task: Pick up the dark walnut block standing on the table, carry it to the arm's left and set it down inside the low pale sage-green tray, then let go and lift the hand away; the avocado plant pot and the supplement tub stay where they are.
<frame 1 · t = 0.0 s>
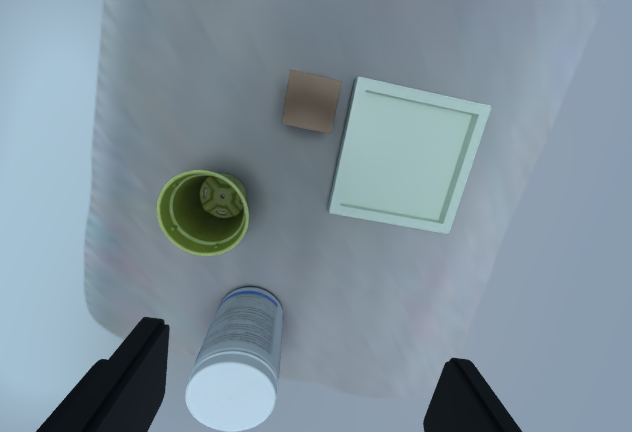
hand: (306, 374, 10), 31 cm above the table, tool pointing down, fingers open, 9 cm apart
plant pot: (223, 196, 40), on the table
supplement tub: (252, 312, 45), on the table
sage tray: (401, 159, 39), on the table
walnut block: (309, 107, 37), on the table
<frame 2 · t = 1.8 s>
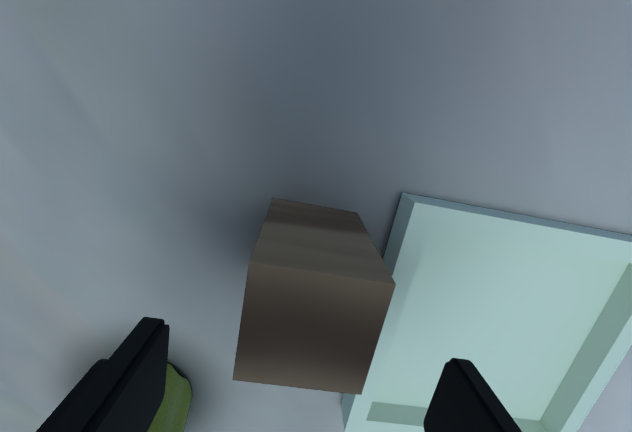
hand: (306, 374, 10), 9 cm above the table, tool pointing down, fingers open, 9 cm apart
plant pot: (150, 387, 22), on the table
sage tray: (482, 327, 21), on the table
walnut block: (307, 244, 18), on the table
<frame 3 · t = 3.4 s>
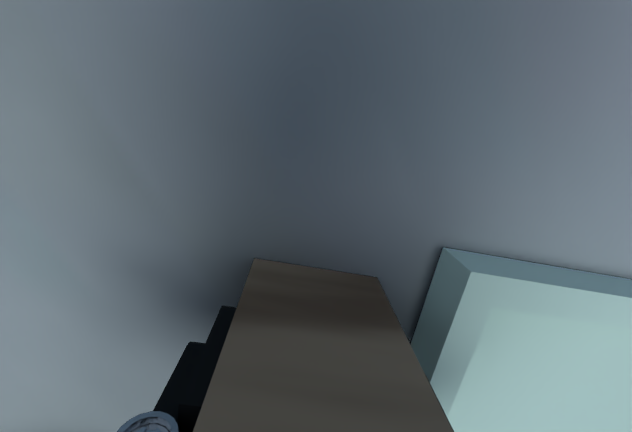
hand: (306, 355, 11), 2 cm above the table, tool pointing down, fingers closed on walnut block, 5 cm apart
sage tray: (547, 423, 15), on the table
walnut block: (305, 321, 13), on the table, touching gripper
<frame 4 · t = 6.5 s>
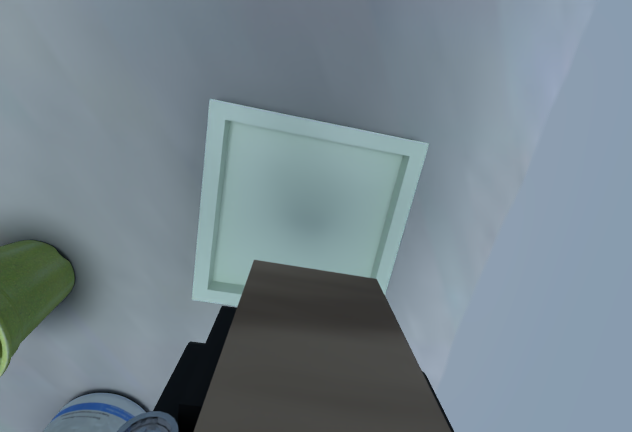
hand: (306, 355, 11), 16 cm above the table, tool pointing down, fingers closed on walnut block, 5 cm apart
plant pot: (42, 270, 27), on the table
supplement tub: (111, 421, 32), on the table
sage tray: (303, 218, 26), on the table
walnut block: (305, 322, 13), point 14 cm above the table, touching gripper
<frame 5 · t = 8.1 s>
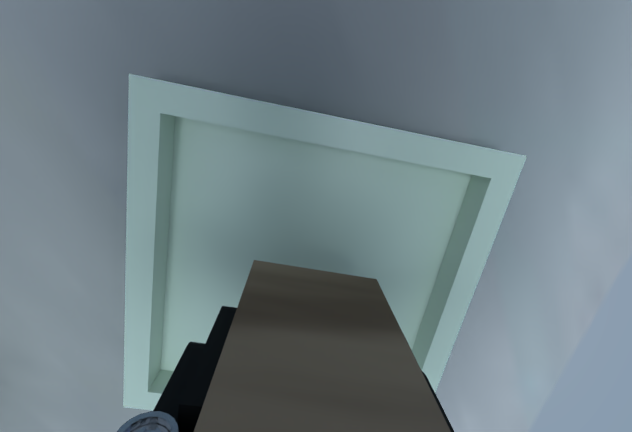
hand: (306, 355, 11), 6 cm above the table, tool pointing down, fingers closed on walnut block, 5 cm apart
sage tray: (304, 273, 17), on the table
walnut block: (305, 322, 13), point 4 cm above the table, touching gripper
when the fingers open (4 cm above the table, at t = 9.4 s): walnut block drops 1 cm, resting on sage tray.
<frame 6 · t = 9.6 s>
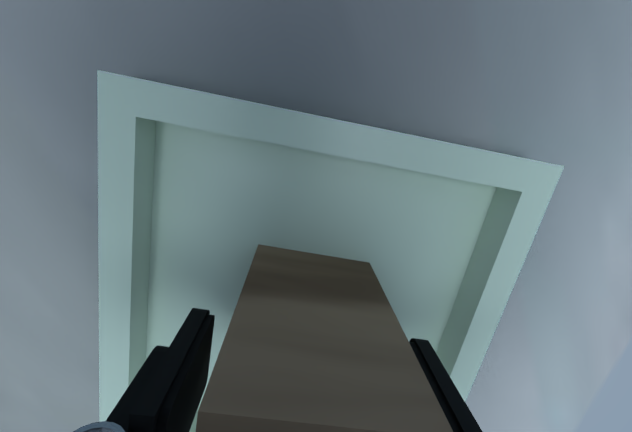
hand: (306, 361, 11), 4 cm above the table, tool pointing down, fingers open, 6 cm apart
sage tray: (304, 296, 15), on the table
walnut block: (304, 302, 14), point 1 cm above the table, touching sage tray
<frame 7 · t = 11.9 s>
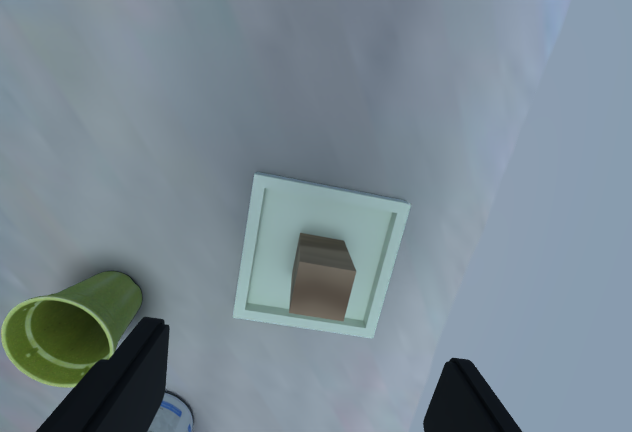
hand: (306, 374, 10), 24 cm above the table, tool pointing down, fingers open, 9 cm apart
plant pot: (117, 294, 35), on the table
supplement tub: (159, 416, 40), on the table
sage tray: (317, 255, 35), on the table
walnut block: (317, 257, 34), point 1 cm above the table, touching sage tray
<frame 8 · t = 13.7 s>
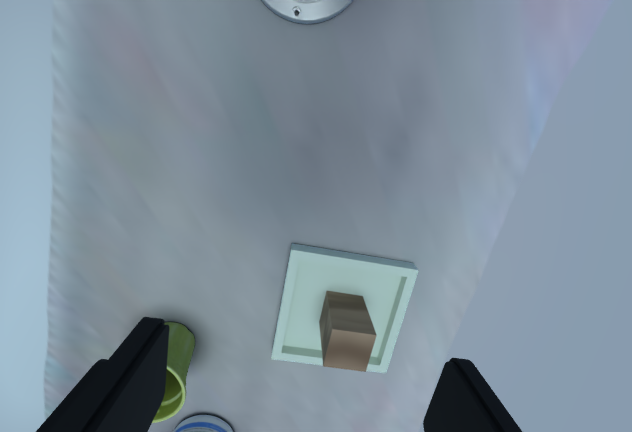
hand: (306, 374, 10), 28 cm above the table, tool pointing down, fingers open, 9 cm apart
plant pot: (174, 339, 43), on the table
sage tray: (340, 307, 42), on the table
walnut block: (340, 309, 41), point 1 cm above the table, touching sage tray
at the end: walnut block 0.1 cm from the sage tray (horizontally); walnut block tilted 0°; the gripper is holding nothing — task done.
